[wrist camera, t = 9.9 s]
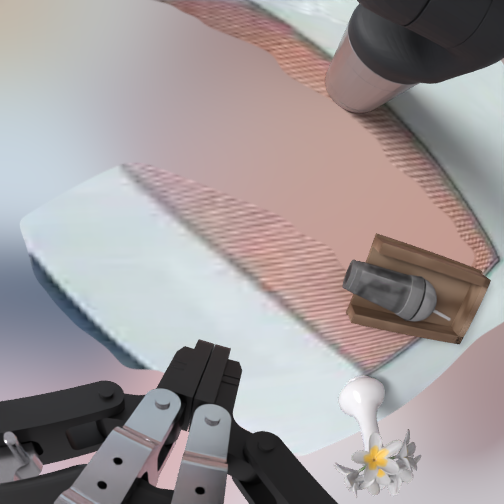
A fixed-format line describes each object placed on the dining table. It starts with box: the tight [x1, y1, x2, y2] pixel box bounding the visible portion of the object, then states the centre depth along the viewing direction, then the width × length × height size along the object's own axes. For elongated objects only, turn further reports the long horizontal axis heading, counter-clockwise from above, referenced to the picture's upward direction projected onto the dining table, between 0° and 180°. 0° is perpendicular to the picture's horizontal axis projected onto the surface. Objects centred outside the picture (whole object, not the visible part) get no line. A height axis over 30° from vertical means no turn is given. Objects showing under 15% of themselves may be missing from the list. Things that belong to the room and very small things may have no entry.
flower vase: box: [334, 375, 421, 498], centre depth 38 cm, size 13×18×25 cm
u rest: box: [346, 234, 491, 344], centre depth 41 cm, size 14×24×4 cm, turn 76°
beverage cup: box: [343, 260, 450, 322], centre depth 40 cm, size 7×7×20 cm
